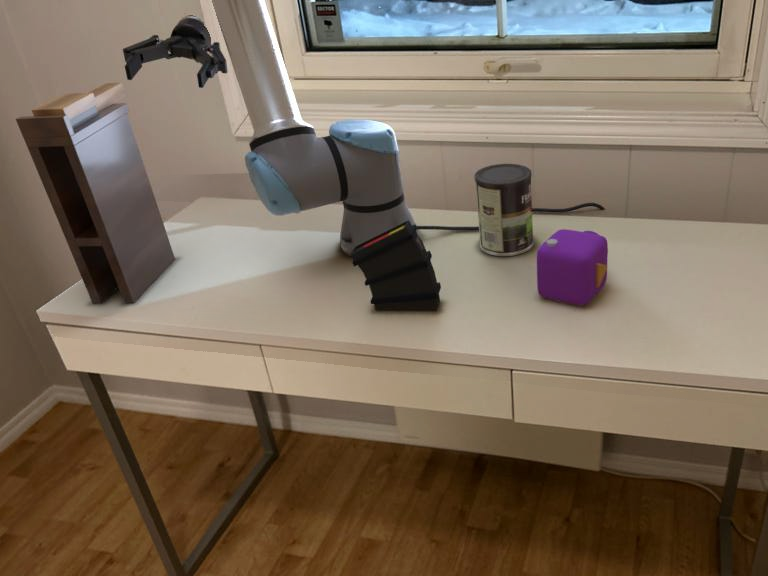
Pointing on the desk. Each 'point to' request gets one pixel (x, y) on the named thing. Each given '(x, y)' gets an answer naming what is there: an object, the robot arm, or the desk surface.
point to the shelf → (101, 200)
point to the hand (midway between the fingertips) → (163, 77)
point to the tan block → (82, 103)
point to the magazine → (398, 270)
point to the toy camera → (572, 266)
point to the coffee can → (504, 209)
